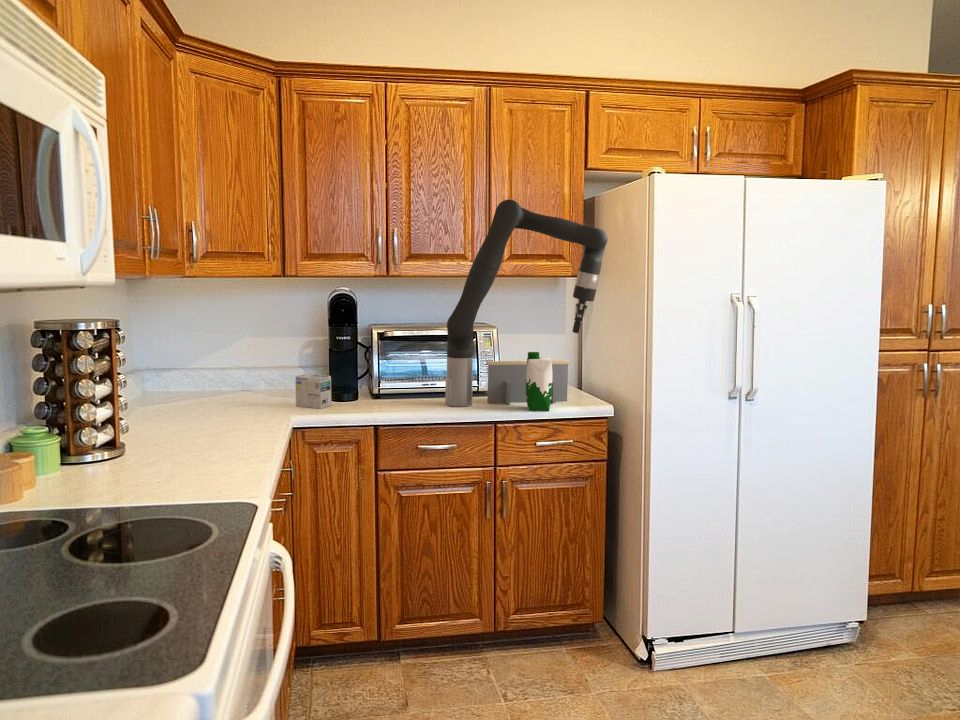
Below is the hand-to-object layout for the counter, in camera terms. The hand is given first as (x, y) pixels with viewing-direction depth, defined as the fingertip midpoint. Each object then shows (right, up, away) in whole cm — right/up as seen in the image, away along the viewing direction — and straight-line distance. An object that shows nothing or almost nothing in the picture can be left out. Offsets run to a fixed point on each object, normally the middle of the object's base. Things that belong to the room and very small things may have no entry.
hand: (575, 331), depth 256 cm
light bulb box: (-92, -26, -1) cm, 95 cm away
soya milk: (-13, -28, -1) cm, 31 cm away
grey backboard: (-16, -26, +11) cm, 32 cm away
